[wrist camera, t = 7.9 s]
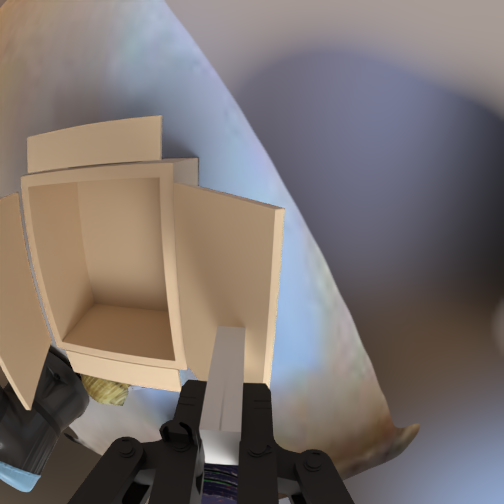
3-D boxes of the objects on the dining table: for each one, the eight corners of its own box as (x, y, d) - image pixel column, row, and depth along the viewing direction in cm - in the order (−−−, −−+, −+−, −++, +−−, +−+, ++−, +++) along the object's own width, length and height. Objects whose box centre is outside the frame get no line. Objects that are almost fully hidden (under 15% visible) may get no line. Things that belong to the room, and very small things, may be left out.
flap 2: (257, 444, 16) (263, 440, 17) (275, 209, 11) (284, 208, 11) (186, 365, 24) (191, 363, 24) (173, 182, 19) (180, 182, 19)
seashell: (107, 333, 40) (74, 364, 37) (94, 329, 33) (56, 365, 30) (149, 381, 39) (115, 412, 36) (142, 386, 32) (103, 421, 29)
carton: (97, 328, 35) (66, 370, 26) (72, 136, 26) (19, 139, 18) (203, 341, 35) (190, 393, 26) (199, 123, 26) (174, 114, 18)
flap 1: (-42, 220, 10) (-47, 221, 10) (30, 410, 15) (26, 409, 15) (18, 192, 19) (13, 192, 19) (51, 340, 24) (48, 340, 24)
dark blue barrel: (175, 421, 41) (157, 496, 27) (217, 401, 39) (206, 488, 25) (217, 447, 43) (209, 517, 29) (260, 430, 41) (260, 509, 27)
